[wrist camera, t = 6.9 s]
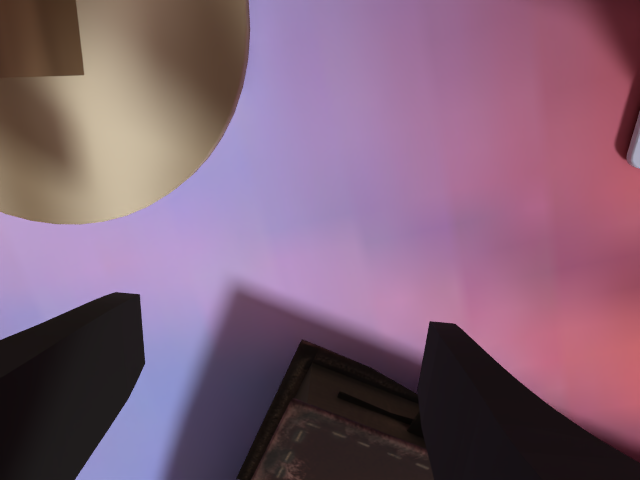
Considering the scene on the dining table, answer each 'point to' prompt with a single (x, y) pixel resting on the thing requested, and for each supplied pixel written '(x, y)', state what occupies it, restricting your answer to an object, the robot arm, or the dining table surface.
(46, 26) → the lid
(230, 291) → the dining table surface
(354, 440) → the diary
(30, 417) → the robot arm
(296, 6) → the dining table surface
